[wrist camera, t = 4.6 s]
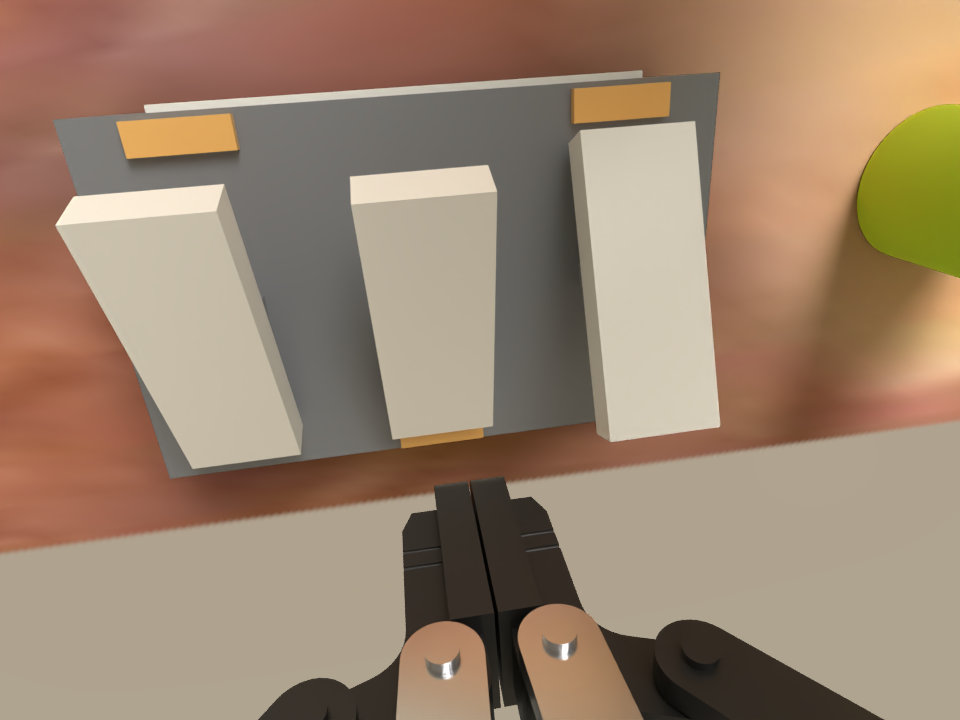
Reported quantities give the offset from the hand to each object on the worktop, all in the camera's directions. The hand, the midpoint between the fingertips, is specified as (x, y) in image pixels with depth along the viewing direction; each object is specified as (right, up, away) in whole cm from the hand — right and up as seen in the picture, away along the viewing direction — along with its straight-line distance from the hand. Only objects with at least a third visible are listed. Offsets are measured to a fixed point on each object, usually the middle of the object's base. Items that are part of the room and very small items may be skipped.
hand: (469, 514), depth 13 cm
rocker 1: (-7, +4, +3) cm, 9 cm away
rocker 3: (+5, +5, +5) cm, 9 cm away
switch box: (-2, +7, +9) cm, 12 cm away
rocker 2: (-1, +5, +4) cm, 6 cm away
